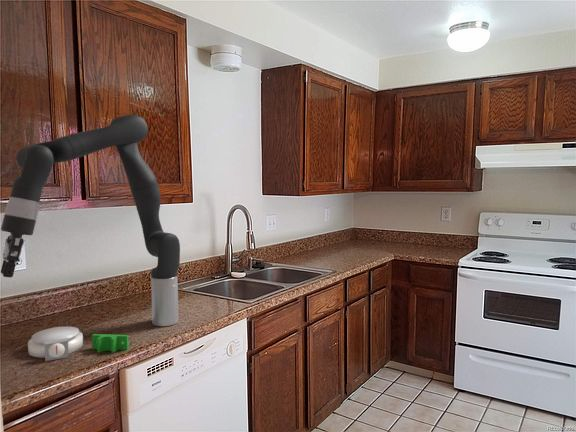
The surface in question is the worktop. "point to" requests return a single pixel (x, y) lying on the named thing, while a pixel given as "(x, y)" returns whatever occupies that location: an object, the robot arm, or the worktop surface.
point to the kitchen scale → (55, 343)
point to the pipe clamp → (109, 342)
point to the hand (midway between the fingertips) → (6, 275)
